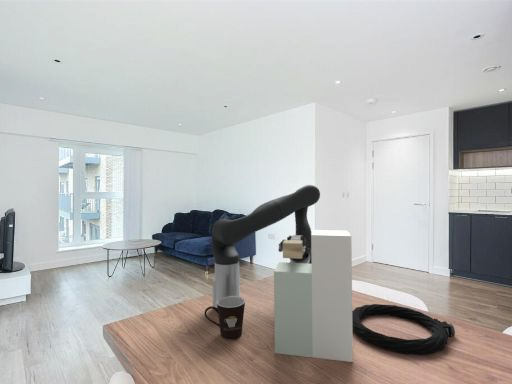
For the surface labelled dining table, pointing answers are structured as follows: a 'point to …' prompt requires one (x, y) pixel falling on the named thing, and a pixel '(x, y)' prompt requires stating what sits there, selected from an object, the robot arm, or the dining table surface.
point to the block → (293, 247)
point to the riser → (316, 300)
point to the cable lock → (398, 344)
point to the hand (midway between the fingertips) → (295, 238)
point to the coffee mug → (229, 316)
